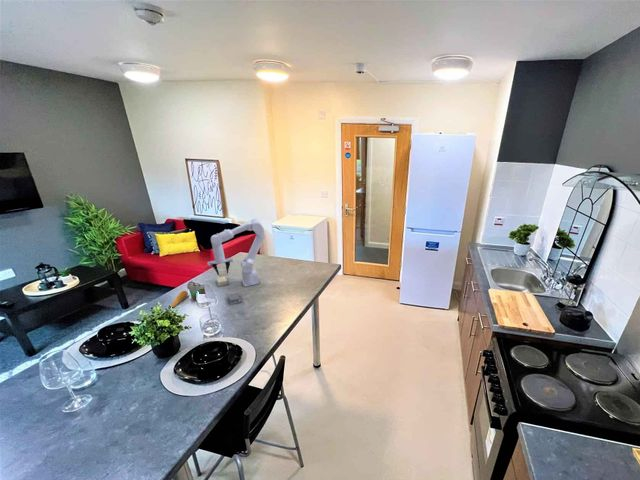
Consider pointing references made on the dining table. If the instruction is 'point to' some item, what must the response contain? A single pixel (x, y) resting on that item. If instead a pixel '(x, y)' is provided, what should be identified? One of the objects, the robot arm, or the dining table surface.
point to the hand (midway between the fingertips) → (222, 273)
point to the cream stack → (222, 281)
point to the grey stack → (234, 298)
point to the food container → (195, 289)
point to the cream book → (222, 272)
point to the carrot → (179, 298)
